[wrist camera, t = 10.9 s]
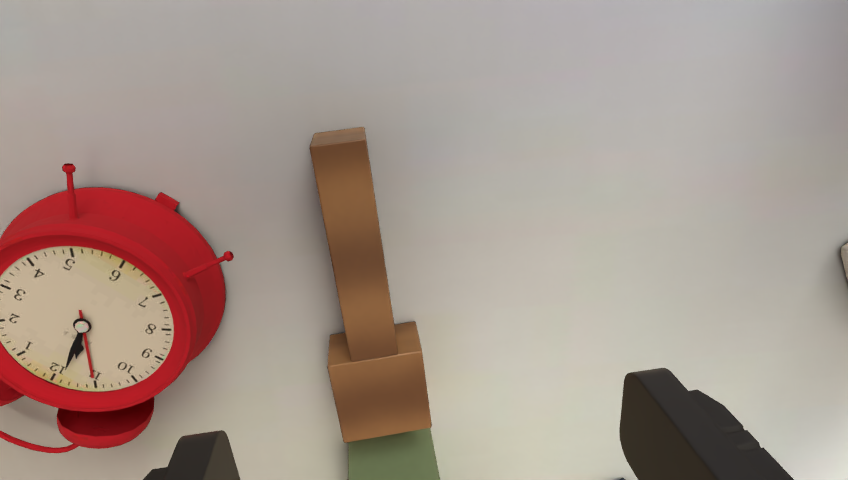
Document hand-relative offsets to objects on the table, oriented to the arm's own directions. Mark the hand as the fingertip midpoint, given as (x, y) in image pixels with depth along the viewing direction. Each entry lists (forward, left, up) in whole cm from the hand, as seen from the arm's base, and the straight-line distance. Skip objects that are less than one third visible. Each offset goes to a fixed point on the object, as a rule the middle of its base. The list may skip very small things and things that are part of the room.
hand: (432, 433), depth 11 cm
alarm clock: (+4, -15, -18) cm, 23 cm away
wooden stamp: (+4, -2, -17) cm, 18 cm away
